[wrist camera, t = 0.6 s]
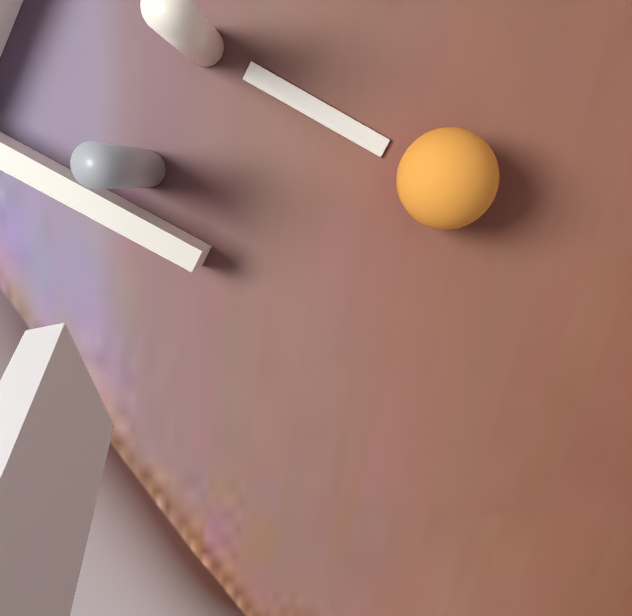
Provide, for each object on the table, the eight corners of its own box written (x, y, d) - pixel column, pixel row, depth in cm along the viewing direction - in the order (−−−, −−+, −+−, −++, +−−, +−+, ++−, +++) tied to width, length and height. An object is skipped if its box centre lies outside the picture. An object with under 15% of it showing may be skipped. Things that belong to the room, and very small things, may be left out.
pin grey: (171, 161, 40) (124, 155, 31) (156, 193, 40) (105, 197, 31) (138, 143, 39) (81, 132, 31) (123, 176, 40) (63, 175, 31)
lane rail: (371, -68, 36) (374, -90, 33) (202, 265, 41) (191, 272, 38) (89, -236, 35) (66, -274, 32) (-54, 128, 40) (-85, 123, 37)
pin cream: (230, 38, 38) (198, -5, 29) (213, 74, 38) (176, 42, 30) (196, 18, 38) (153, -31, 29) (179, 55, 38) (132, 17, 29)
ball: (503, 160, 39) (533, 156, 33) (454, 242, 40) (474, 252, 34) (422, 113, 38) (437, 101, 33) (375, 197, 40) (382, 201, 34)
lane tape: (389, 140, 39) (390, 140, 39) (380, 157, 39) (380, 157, 39) (251, 61, 38) (251, 61, 38) (242, 79, 38) (242, 79, 38)
